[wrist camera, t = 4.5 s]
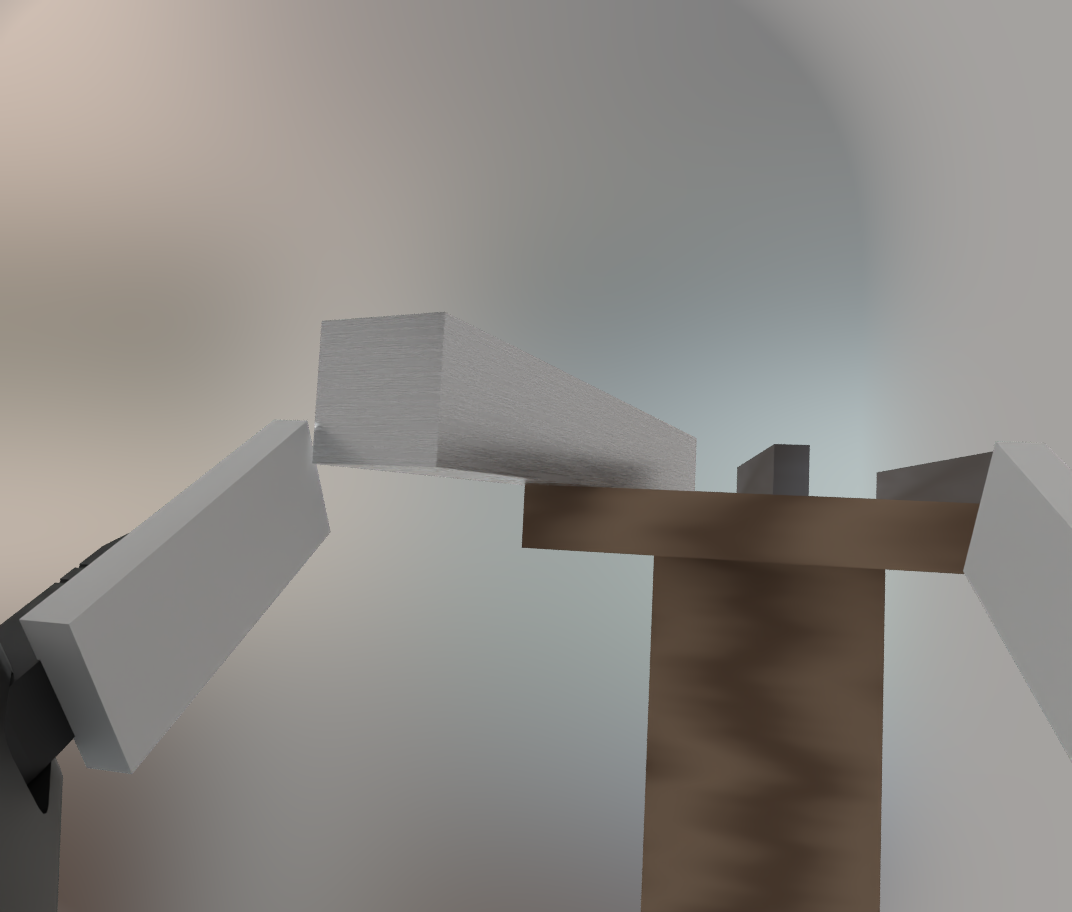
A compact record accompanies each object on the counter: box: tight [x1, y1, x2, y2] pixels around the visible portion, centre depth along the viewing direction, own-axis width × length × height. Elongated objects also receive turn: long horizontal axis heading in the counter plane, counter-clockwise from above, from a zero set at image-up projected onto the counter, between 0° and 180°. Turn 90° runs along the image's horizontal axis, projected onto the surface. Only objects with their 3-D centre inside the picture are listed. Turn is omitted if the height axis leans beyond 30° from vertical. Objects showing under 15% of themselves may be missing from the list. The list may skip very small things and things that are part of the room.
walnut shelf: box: [522, 444, 993, 912], centre depth 26 cm, size 16×12×32 cm
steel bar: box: [312, 312, 696, 491], centre depth 25 cm, size 3×24×3 cm, turn 156°
